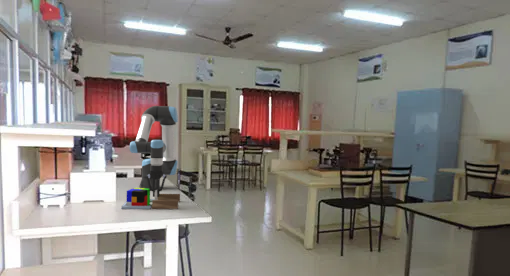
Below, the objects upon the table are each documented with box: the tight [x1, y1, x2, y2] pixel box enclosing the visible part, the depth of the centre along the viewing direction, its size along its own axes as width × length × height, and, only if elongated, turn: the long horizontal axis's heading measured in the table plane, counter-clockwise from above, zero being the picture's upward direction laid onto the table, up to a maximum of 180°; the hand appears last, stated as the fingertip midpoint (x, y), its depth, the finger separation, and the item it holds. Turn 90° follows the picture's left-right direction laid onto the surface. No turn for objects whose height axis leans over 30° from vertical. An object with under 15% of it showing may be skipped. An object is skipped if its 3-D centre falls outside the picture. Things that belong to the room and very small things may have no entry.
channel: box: [151, 193, 181, 210], centre depth 204 cm, size 18×15×5 cm
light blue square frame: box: [121, 198, 155, 210], centre depth 202 cm, size 18×17×2 cm
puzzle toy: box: [126, 187, 151, 206], centre depth 200 cm, size 10×10×10 cm
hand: (156, 201), depth 203 cm, fingers closed
